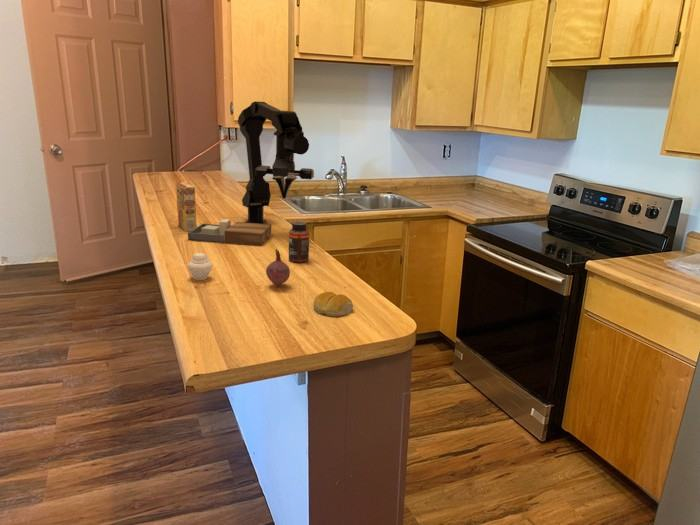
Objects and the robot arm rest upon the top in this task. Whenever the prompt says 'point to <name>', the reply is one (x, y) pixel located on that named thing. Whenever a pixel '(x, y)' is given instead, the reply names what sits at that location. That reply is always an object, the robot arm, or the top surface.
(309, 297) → the top surface
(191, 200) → the candy box
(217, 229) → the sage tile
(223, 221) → the cream tile
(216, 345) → the top surface
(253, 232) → the walnut board
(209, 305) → the top surface
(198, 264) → the white lidded jar
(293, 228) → the supplement bottle
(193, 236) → the tray
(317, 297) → the bread roll
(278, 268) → the vegetable
